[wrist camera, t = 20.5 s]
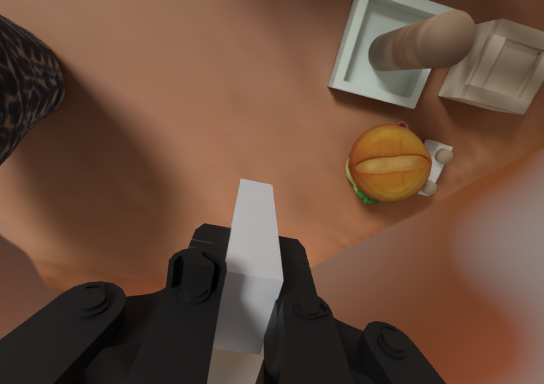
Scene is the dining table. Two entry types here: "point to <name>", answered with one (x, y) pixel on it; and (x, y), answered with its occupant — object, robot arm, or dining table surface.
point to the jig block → (499, 68)
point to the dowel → (425, 43)
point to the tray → (356, 42)
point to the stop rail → (436, 164)
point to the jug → (25, 84)
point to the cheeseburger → (388, 164)
